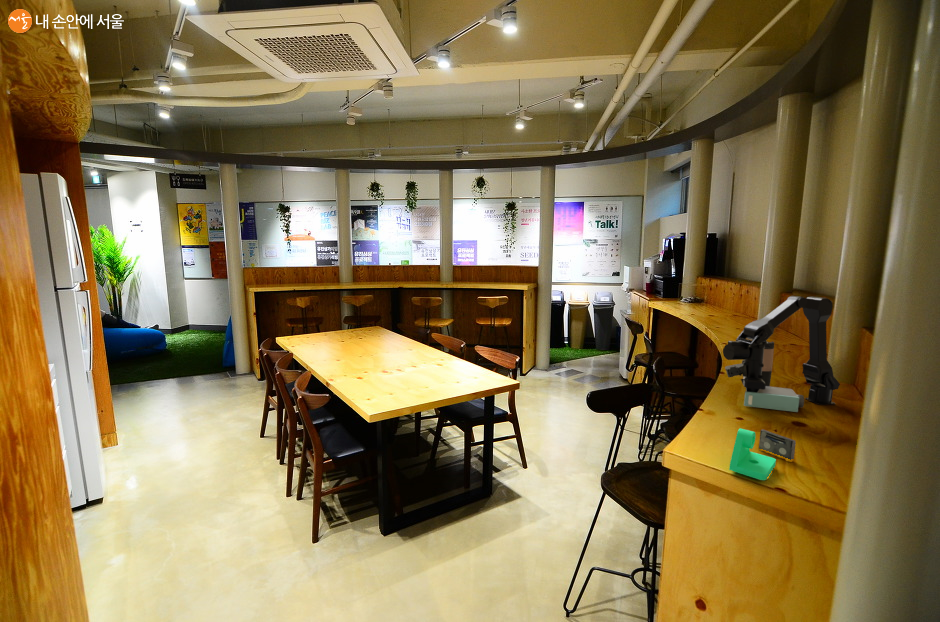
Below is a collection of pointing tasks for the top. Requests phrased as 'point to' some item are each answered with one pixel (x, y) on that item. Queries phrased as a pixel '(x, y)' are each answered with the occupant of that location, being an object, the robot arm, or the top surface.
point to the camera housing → (782, 393)
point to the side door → (771, 401)
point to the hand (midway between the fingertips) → (749, 400)
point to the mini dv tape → (777, 444)
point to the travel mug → (767, 363)
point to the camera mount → (750, 457)
